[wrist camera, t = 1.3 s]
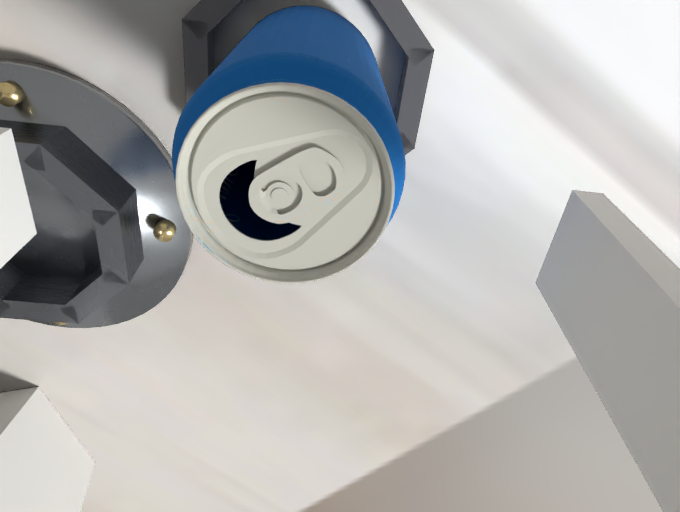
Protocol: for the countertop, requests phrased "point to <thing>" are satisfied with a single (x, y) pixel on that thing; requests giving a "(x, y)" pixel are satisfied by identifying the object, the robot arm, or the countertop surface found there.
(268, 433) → the countertop surface
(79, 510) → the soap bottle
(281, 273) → the beverage can
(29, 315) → the hub socket
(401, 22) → the stand ring
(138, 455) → the countertop surface
